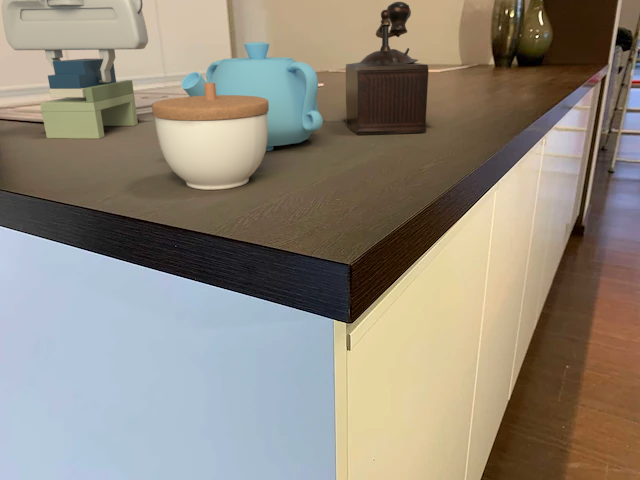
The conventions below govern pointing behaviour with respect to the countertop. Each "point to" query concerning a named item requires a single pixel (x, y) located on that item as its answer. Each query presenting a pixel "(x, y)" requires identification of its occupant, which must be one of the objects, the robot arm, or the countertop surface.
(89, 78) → the blue block cream base
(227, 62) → the teapot
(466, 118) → the countertop surface
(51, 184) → the countertop surface
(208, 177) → the white bowl with lid
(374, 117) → the manual coffee grinder
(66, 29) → the robot arm
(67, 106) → the shoe shelf
